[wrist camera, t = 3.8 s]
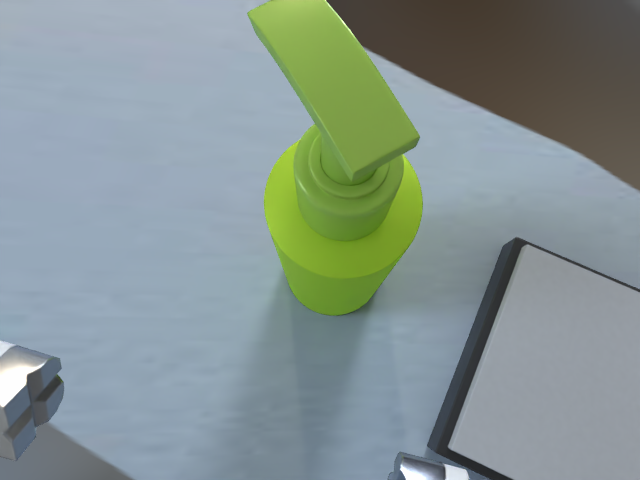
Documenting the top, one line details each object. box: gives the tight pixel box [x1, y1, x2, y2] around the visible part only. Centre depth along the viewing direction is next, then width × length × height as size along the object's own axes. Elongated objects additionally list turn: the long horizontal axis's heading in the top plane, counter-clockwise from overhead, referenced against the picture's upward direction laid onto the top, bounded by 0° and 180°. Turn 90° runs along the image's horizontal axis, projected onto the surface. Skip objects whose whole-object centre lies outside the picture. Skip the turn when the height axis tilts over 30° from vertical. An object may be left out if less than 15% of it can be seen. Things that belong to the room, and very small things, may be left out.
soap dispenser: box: [247, 0, 423, 315], centre depth 22 cm, size 6×7×20 cm
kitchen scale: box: [427, 237, 640, 480], centre depth 28 cm, size 13×13×3 cm
